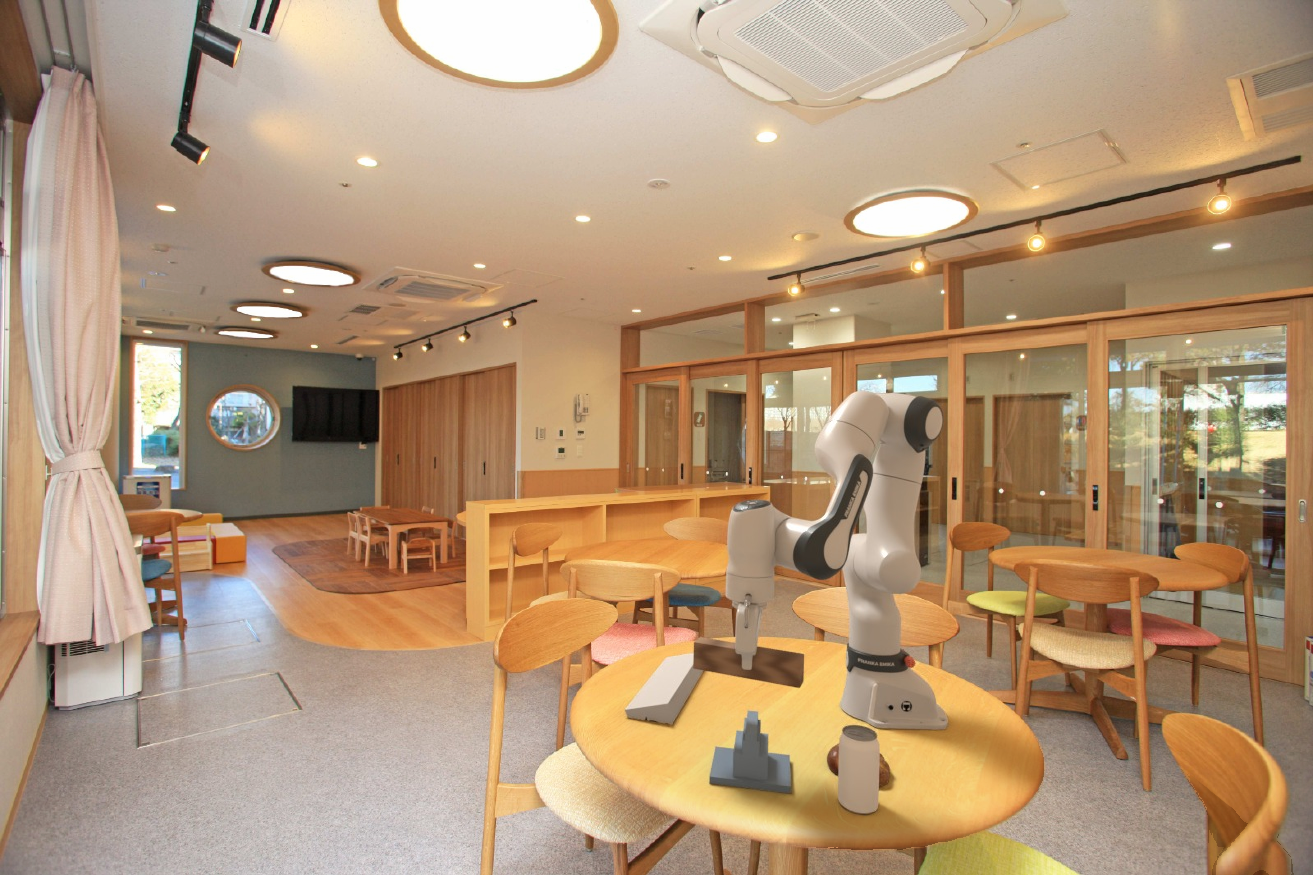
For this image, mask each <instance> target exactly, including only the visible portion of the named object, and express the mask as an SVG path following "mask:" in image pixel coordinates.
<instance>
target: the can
mask: <svg viewBox="0 0 1313 875" xmlns="http://www.w3.org/2000/svg"><path fill="white" fill-rule="evenodd" d="M841 731H842V732H841V735H840V736H839V738H838V739H839V742H838V744H839V771H838V775H837V776H838V781H837V782H838V783H837V785H838V787H837V799H838V802H839V803H840V805H841V806H842V807H843V808H844V809H845V810H847V811H849V812H851V813H854V814H858V815H870V814H873V813H875V812H876V811H877V810H878V808H879V791H880V790H879V789H880V788H879V787H880V786H879V758H880V754H881V753H880V751H881V750H880V748H881V747H880V745H881V744H880V741H879V740H878V734H877V732H876V731H875V730H874V729H873V728H870V727H868V726H865V725H861V724H859V725H858V724H849V725H848V724H847V725H845V726H844V727H842V729H841Z"/></svg>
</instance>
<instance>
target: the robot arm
mask: <svg viewBox="0 0 1313 875" xmlns="http://www.w3.org/2000/svg"><path fill="white" fill-rule="evenodd" d="M943 413H944V412H943V409H942V408H941V405H940V404H939V402H937V400H934V399H932V398H930V397H928V396H922V395H918V396H917V395H916V396H915V395H911V394H905V393H897V392H889V393H888V392H872V391H869V390H857V391H854V392H852V393H850V394H849V395H848V396H847V397H845V399H844V400H843V401H842V402H841V403H840V404H839V405H838V407H837V408H836V409H835V410H834V411H833V412H832V414H831V415H830V416H829V419H828V420H827V422H826V423H825V425H824V426H823V428H822V429H821V430H820V432H819V434H818V436H817V437H816V440H815V444H814V447H813V448H814V449H813V450H814V455H815V458H816V461H817V462H818V465H819V466H820V467H821V469H823V471H824V472H825V473H827V475H829V477H831V478H833V479H834V480H836V481H837V482H836V487H835V489H834V491H833V494H832V496H831V498H830V500H829V503H828V506H827V507H826V508H827V509H826V511H825V514H824V515H823V516H821V517H820V518H819V519H816V520H807V519H802V518H798V517H792V516H790V515H788V514H786V513H784V512H782V511H780V510H779V509H777V508H776V507H775V506H774V505H773V503H772V502H771V501H769V500H766V499H749V500H743V501H740V502H738V503H736V504H735V505H734V506H732V508H731V511H730V514H729V518H728V524H727V537H726V538H727V539H726V550H727V553H728V554H727V556H728V561H727V562H728V563H727V565H726V571H725V572H726V574H725V597H726V598H727V599H728V600H730V601H731V605H732V606H731V607H733V608H734V609H736V615H735V616H736V617H735V633H734V634H735V636H734V638H735V639H734V643H735V651H736V653H737V654H741V655H742V668H743V669H745V670H751V669H752V657H753V655H755V654H756V651H757V646H758V643H759V634H760V625H761V620H762V614H763V611H765V610H766V609H767V608H768V607H767V606H768V604H767V603H770V602H773V601H774V599H775V567H776V566H779V567H782V568H785V569H788V570H792V571H795V572H799V573H801V574H804V575H805V576H808V577H810V578H813V579H815V580H819V581H826V580H828V579H832V578H833V577H834V576H836V575H837V574H838V573H839V572H841V570H842V574H843V579H844V584H845V590H846V596H847V602H848V603H847V604H848V611H849V612H848V615H849V616H848V620H849V621H848V623H849V624H848V627H849V628H848V643H847V644H846V650H845V668H846V677H845V678H846V679H845V685H844V688H843V693H842V697H841V700H840V703H839V707H840V708H841V709H842V711H844V712H845V713H846V714H847V715H849V716H851V717H854V718H855V719H858V720H861V721H864V722H865V723H867V724H869V725H871V726H873V727H874V728H877V729H898V730H899V729H902V730H903V729H905V730H907V729H908V730H945V729H947V728H948V727H949V718H948V716H947V713H946V711H945V710H944V709H943V708H942V707H941V706H940V705H939V704H938V703H937V698H936V695H935V692H934V690H933V688H932V686H931V685H930V684H929V683H928V682H927V681H926V680H925V679H924V678H923V677H921V676H920V675H919V674H918V673H917V672H915V671H914V670H913V668H915V666H916V660H915V659H914V658H913V657H912V656H910V654H909V653H908V651H906V650H905V649H904V648H901V645H902V644H901V643H902V642H901V640H902V639H901V638H902V637H901V636H902V631H901V630H902V616H901V611H900V610H899V608H898V605H897V603H896V600H895V596H894V595H904V594H908V593H909V592H912V591H913V590H914V589H915V588H916V586H917V585H918V584H919V582H920V580H921V576H922V569H921V568H922V567H921V566H922V565H921V564H920V560H919V559H918V557H917V554H916V548H915V518H916V510H917V506H918V501H919V499H920V498H919V496H920V493H921V488H922V483H923V478H924V473H925V466H926V465H925V464H926V449H927V448H928V447H930V446H931V445H933V443H934V442H935V441H937V439H938V438H939V436H940V434H941V433H942V430H943V425H944V414H943ZM879 443H880V444H879ZM878 445H879V447H878ZM877 447H878V450H877V452H876V454H875V457H874V459H873V462H871V459H872V456H873V454H874V452H875V450H876V449H877ZM863 510H864V513H865V516H866V517H865V518H866V533H865V532H863V533H854V531H855V529H856V526H857V524H858V521H859V518H860V515H861V513H862V511H863Z"/></svg>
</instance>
